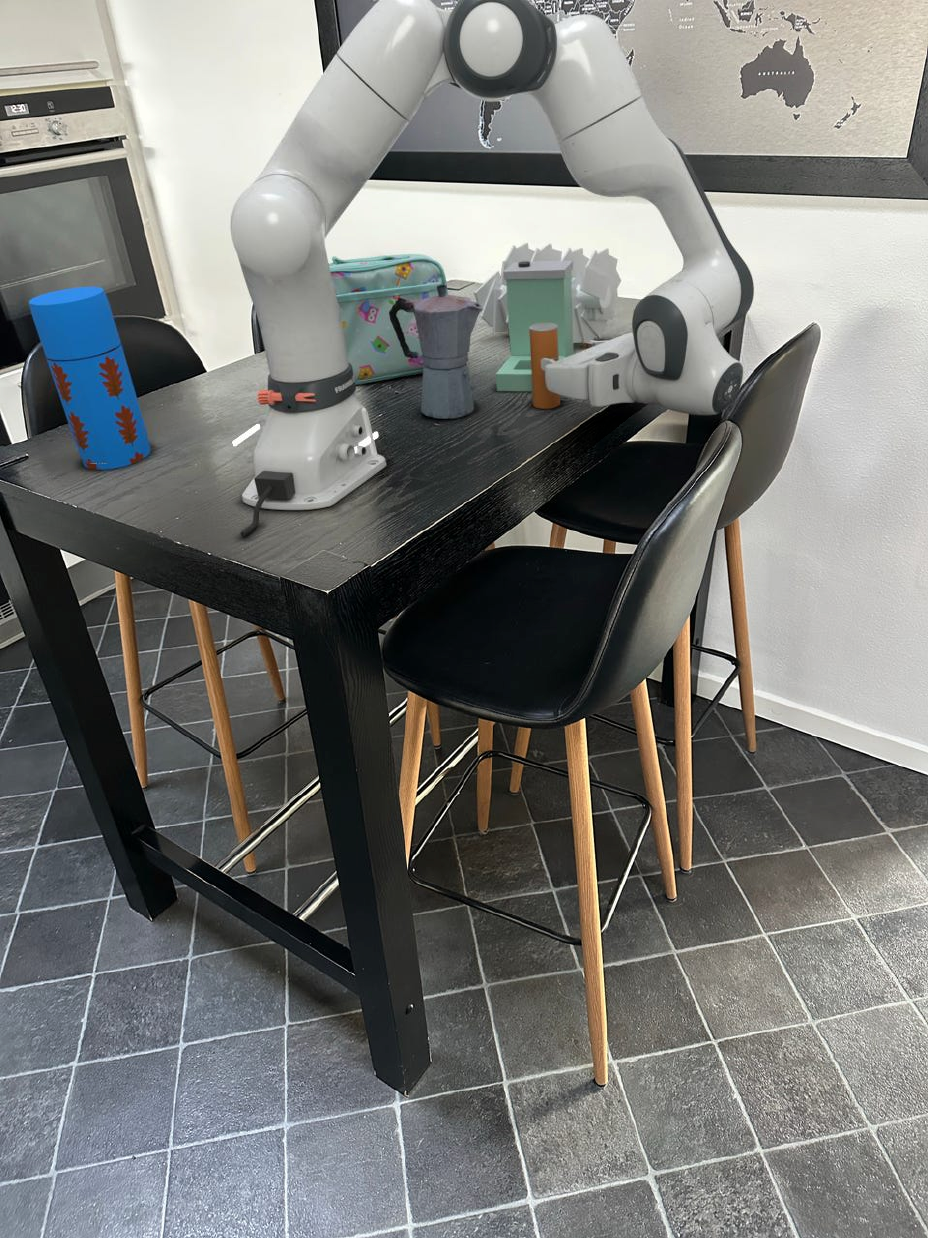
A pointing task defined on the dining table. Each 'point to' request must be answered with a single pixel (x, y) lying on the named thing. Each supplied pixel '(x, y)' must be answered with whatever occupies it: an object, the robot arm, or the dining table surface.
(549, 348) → the orange silver-capped cylinder
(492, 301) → the spiral staircase
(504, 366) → the square frame
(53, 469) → the dining table surface
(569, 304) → the pet feeder tower
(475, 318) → the moka pot
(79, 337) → the thermos
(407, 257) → the lunch box
